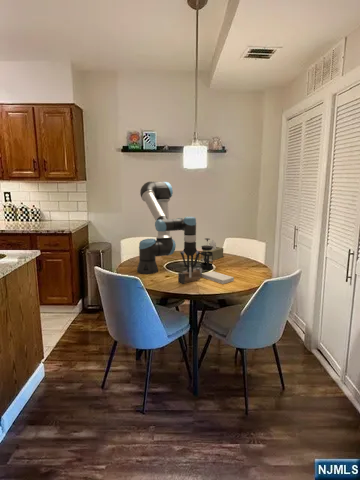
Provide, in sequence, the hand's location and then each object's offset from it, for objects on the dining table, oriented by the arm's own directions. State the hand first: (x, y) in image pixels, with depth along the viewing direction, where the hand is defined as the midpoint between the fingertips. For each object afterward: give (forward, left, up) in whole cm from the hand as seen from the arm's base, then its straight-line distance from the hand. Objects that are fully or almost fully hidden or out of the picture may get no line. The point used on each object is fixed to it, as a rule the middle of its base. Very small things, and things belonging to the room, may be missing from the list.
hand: (190, 277), depth 208 cm
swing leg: (+3, +3, -4) cm, 6 cm away
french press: (+34, +19, -4) cm, 39 cm away
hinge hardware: (+8, +5, -4) cm, 11 cm away
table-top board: (+21, -5, -4) cm, 22 cm away
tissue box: (+64, +40, -4) cm, 75 cm away
